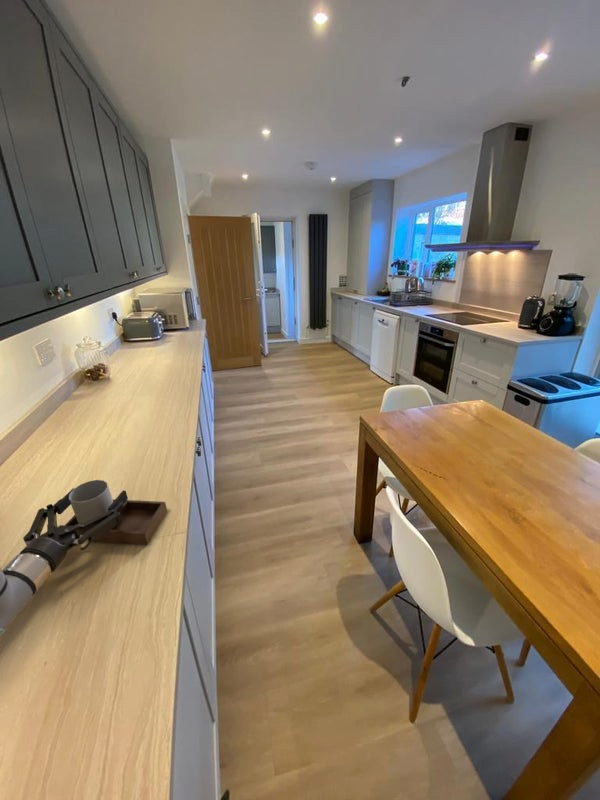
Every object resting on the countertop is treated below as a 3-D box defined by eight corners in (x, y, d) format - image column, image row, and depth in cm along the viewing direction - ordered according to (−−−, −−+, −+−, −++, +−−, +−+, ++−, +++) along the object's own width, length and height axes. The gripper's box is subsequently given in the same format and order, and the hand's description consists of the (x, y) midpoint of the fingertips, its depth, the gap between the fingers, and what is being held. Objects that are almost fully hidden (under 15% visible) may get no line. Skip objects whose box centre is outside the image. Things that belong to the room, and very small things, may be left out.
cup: (96, 537, 80) (85, 506, 76) (72, 528, 82) (60, 497, 78) (124, 513, 87) (115, 483, 83) (101, 506, 89) (91, 477, 85)
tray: (64, 540, 80) (60, 529, 79) (93, 508, 91) (90, 498, 89) (147, 544, 79) (144, 534, 78) (167, 511, 89) (165, 501, 88)
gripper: (-15, 573, 68) (60, 502, 87) (98, 580, 67) (149, 506, 86) (-30, 547, 65) (51, 480, 84) (88, 554, 63) (143, 484, 83)
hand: (100, 493), depth 85 cm, fingers open, 13 cm apart
